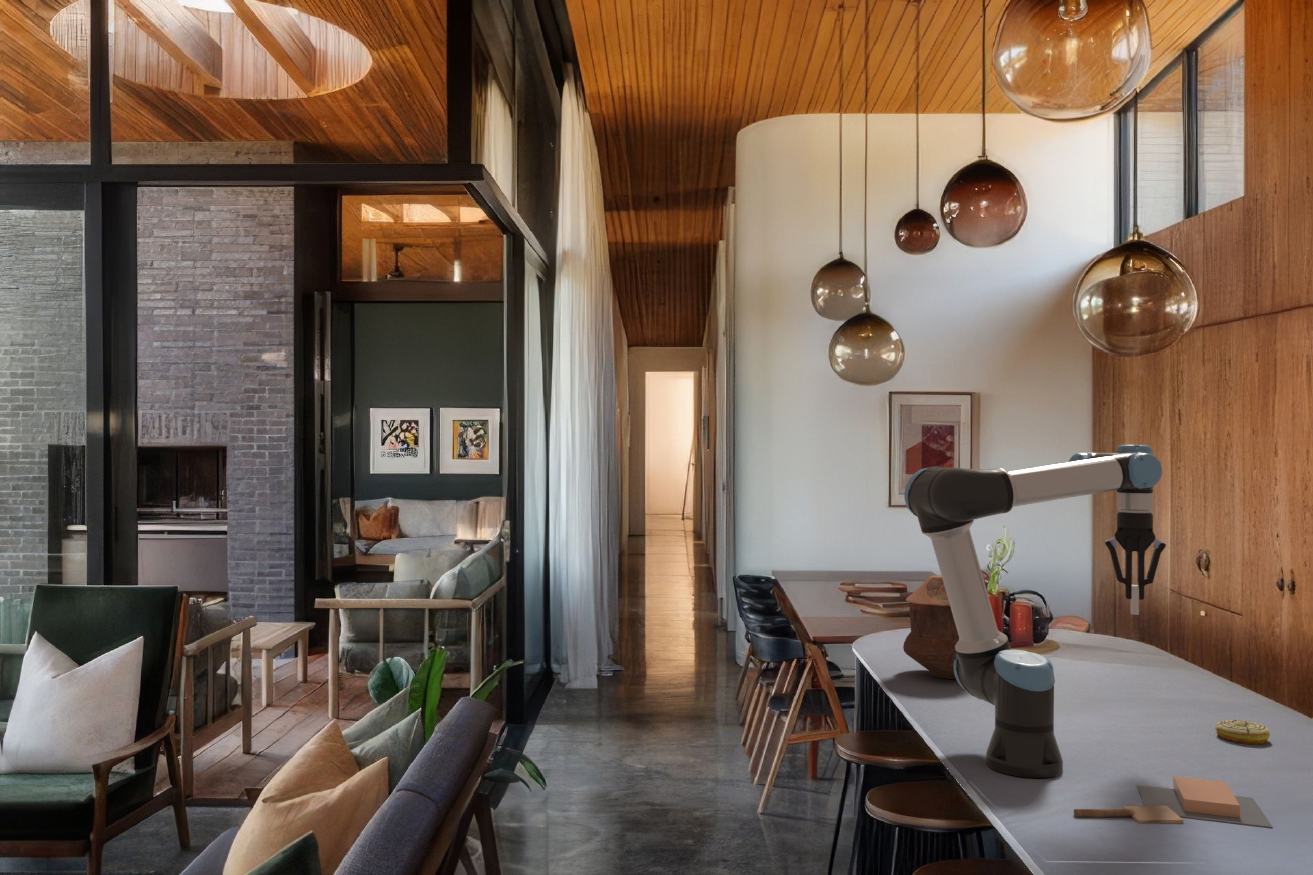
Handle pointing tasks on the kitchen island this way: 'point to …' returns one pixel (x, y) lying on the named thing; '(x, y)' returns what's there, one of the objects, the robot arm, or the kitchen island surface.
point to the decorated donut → (1242, 731)
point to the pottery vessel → (932, 629)
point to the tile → (1206, 796)
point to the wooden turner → (1135, 814)
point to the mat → (1168, 797)
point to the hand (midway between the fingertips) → (1134, 613)
